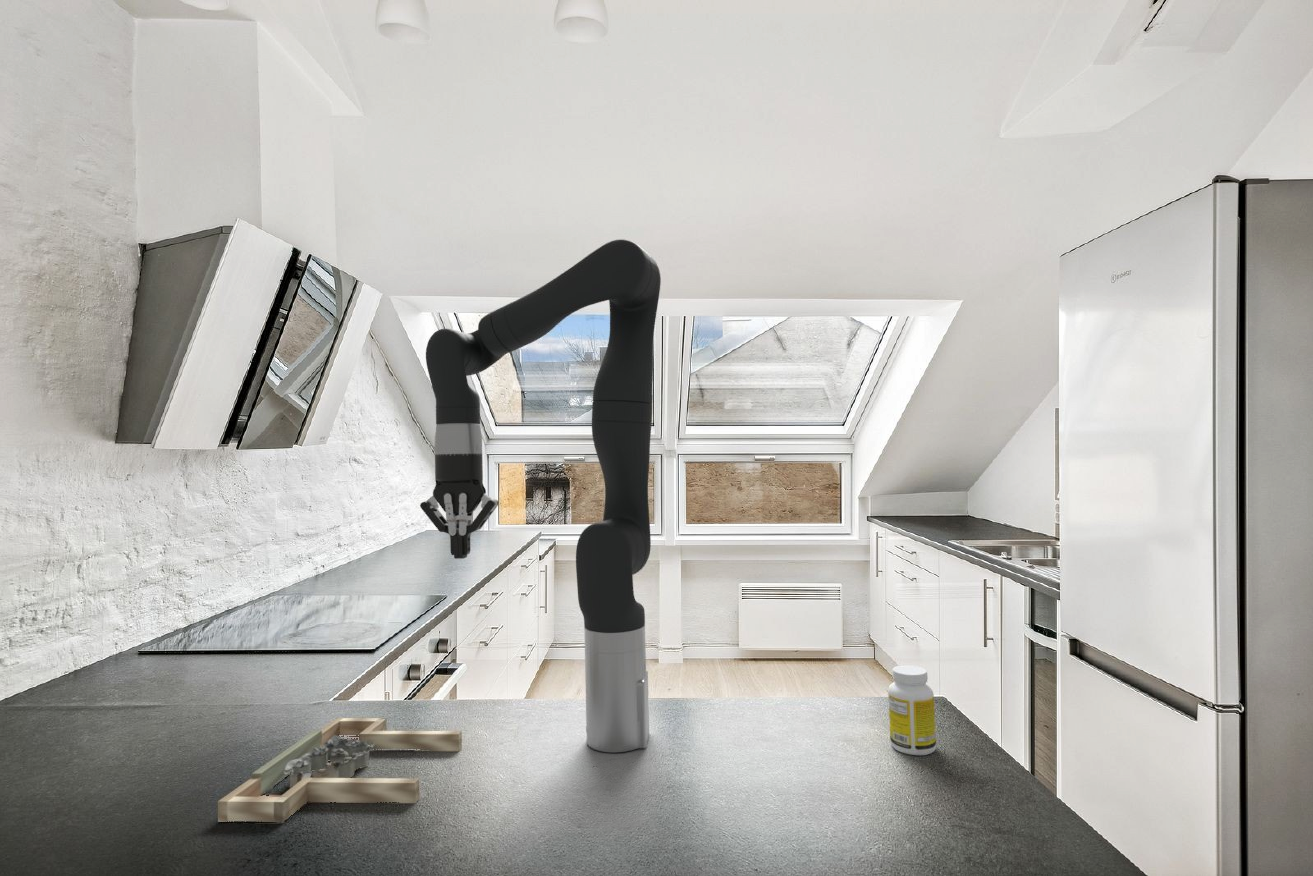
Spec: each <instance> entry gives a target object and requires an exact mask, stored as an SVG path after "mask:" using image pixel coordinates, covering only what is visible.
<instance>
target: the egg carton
mask: <svg viewBox="0 0 1313 876" xmlns="http://www.w3.org/2000/svg"><path fill="white" fill-rule="evenodd" d="M374 745H375V744H374V743H371V745H367V744H366V743H365V742H364V740H361V741H357V740H356V739H350V738H347V739H343V738H341V737H339V736H337V735H334V736H332V737H331V738H330V739H329V740H328V741H327V742H326V743H325V744H323V745H320V746H319V747H318V749H317V748H315V747H314V748H313V749H312V750H311V751H310V752H308V753H307V754H304V755H303V756H302V757H301V758H298V759H295V760H291V761H289V762H288V763H287V765H286V767H285V770H284V774H287V773H289V772H290V775H289V784H291V787H290V789H291V788H292V787H293V786H294V785H296V784H297V783H298V782H299V781H301V780H302V779H303V778H351V777H352V776H353V775H354V776H355V771H356V770H355V769H357V768H360V767H366V766H367V765H369V764H370V760H369V759H370V752H374V751H373V746H374ZM328 760H330V762H327V761H328ZM369 766H370V765H369ZM366 768H367V767H366ZM320 769H322V770H320ZM360 769H361V768H360ZM312 770H314V771H312ZM357 770H358V769H357ZM311 771H312V773H311ZM354 776H353V777H354ZM353 777H352V778H353Z"/></svg>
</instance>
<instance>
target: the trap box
mask: <svg viewBox="0 0 1313 876" xmlns="http://www.w3.org/2000/svg"><path fill="white" fill-rule="evenodd" d="M334 735H337V736H339V735H343V736H341V737H344V735H356V736H349V737H359V740H358V738H356V740H357V741H361V740H364V742H365V743H366V744H367V745H371V743H374V744H375V745H374V746H373V749H374V750H376V749H377V750H378V749H381V750H382V749H394V748H395V749H416V750H417V749H420V750H429V751H428V752H460V751H461V750H462V748H463V739H462V737H463V736H462V735H463V734H462V730H387V717H385V718H384V717H380V718H379V717H374V718H373V717H368V718H367V717H366V718H365V717H364V718H363V717H362V718H361V717H356V718H355V717H352V718H351V717H348V718H347V717H346V718H345V717H340V718H339V717H336V718H335V719H332V720H331V721H330V722H329V723H327V724H326V725H324V726H323V727H322V728H320V729H318V730H315V729H314V730H312V731H311V732H310V733H308V734H307V735H305V736H304V737H302V738H300V740H298V741H297V742H296V743H294V744H292V745H290V747H288V748H287V749H285V750H283V752H281V753H279V754H278V755H276V756H275V757H274V758H272V759H271V760H269V761H268V762H267V763H265V764H263V765H262V766H260V767H259V768H258V769H256V770H254V771H253V772H252V773H251V777H250V778H249V779H248V780H246V781H244V782H243V783H242V784H241V785H238V787H236V788H235V789H234V790H232V791H231V792H229V793H228V794H227V795H225V796H224V797H222V798H220V799H219V800H218V801H217V823H218V822H227V821H228V822H229V821H230V822H231V821H233V822H234V821H245V822H246V821H257V822H258V821H259V822H261V821H262V822H278V823H277V824H284V823H285V822H284V821H285V820H286V819H288V818H289V817H290V816H291V815H293V814H294V813H295V812H296V811H297V810H298V811H299V810H301V809H302V808H303V807H304V806H305V805H306V804H308V803H330V802H332V804H333V803H334V802H336V804H337V803H338V804H339V803H342V804H343V803H345V804H348V803H349V804H350V803H351V804H353V803H354V804H355V803H356V804H357V803H359V804H393V803H392V802H397V803H396V804H416V803H418V801H419V800H420V778H403V777H402V778H396V777H394V778H392V777H391V778H389V777H388V778H387V777H386V778H385V777H383V778H382V777H376V778H374V777H373V778H372V777H370V778H369V777H364V778H363V777H352V778H303V779H302V780H301V781H299V782H298V783H297V784H296V785H294V786H293V787H292V788H291V787H290V788H289V789H288V790H286V791H285V792H284V793H283V794H268V795H269V796H266V795H267V794H265V795H263V796H260V795H261V794H262V793H263V792H265V791H266V790H268V789H269V788H270V787H272V786H273V785H274V784H275V783H277V782H278V781H280V780H281V779H282V778H284V777H285V776H287V775H288V774H289V773H290V772H289V773H287V774H284V770H285V767H286V765H287V763H288V762H289V761H291V760H295V759H298V758H301V757H302V756H303V755H304V754H307V753H308V752H310V751H311V750H312V749H313V748H314V747H315V748H317V749H318V747H319V746H320V745H323V744H325V743H326V742H327V741H328V740H329V739H330V738H331V737H332V736H334ZM358 735H359V736H358ZM339 737H340V736H339ZM347 737H348V736H347ZM343 739H344V738H343ZM351 739H352V738H351ZM354 739H355V738H354ZM308 801H310V802H308ZM307 802H308V803H307ZM377 802H378V803H377ZM380 802H382V803H380ZM383 802H384V803H383ZM385 802H387V803H385ZM389 802H391V803H389ZM398 802H399V803H398ZM304 804H305V805H304ZM303 805H304V806H303ZM302 806H303V807H302ZM301 807H302V808H301ZM300 808H301V809H300ZM298 811H297V812H298ZM297 812H296V813H297ZM296 813H295V814H296ZM295 814H294V815H295ZM294 815H293V816H294ZM291 817H292V816H291ZM291 817H290V818H291ZM290 818H289V819H290ZM289 819H288V820H289ZM279 822H281V823H279Z"/></svg>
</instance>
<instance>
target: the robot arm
mask: <svg viewBox="0 0 1313 876" xmlns="http://www.w3.org/2000/svg"><path fill="white" fill-rule="evenodd" d="M661 277H662V276H661V272H660V268H659V266H658V263H657V262H656V260H655V259H654V258H653V257H652V255H650V254H649V252H647V251H646V250H645V249H643V248H642V247H641V246H640V245H638V243H636V242H634V241H632V240H629V239H625V238H617V239H613V240H610V241H608V242H606V243H604V244H602V245H601V246H599V247H598V248H596V249H595V250H593V251H591V253H589V254H588V255H586V256H585V257H583V258H582V259H581V260H580V261H578V262H577V263H575V264H574V265H573V266H570V268H568V269H567V270H565V271H564V272H562V273H560V274H559V275H558V276H556V277H554V278H553V279H552V280H550V281H548V282H547V283H545V284H543V285H542V286H541V287H539V288H537V289H534V290H533V291H532V292H530V293H528V294H526V295H524V296H522V297H520V298H517V299H516V300H514V301H512V302H509V303H508V304H506V305H503V306H502V307H499V308H497V309H495V310H492V311H491V312H489V313H487V314H486V315H484V316H483V317H482V318H480V320H479V322H478V327H477V329H476V330H475V331H472V332H469V333H465V332H463V331H459V330H457V329H452V328H440V329H438V330H436V331H435V332H434V333H432V335H431V336H430V337H429V339H428V342H427V344H426V349H425V362H426V367H427V372H428V376H429V379H430V380H429V381H430V384H431V389H432V391H433V394H434V395H433V396H434V397H435V432H434V433H435V434H434V446H433V451H434V473H435V474H434V476H435V477H434V478H435V479H434V481H435V486H434V489H433V490H432V496H430V497H429V498H428V499H427V500H425V501H422V502H421V503H420V504H419V506H420V509H421V510H422V511H423V513H424V514H425V515H426V516H427V517H428V519H429V520H430V521H431V523H432V524H433V525H434V526H435V528H436V529H437V530H438V531H439V532H440V533H445V534H448V535H449V538H450V539H449V540H450V543H449V544H450V547H449V548H450V554H451V556H453V558H454V560H455V559H456V560H457V559H458V560H460V559H461V560H462V559H467V557H468V555H470V553H471V535H472V533H474V532H476V531H478V530H479V531H480V530H481V529H482V528H483V526H484V525H485V524H486V522H487V521H488V520H489V518H490V517H491V515H492V514H493V512H494V511H495V510H496V509H497V507H498V506H499V501H498V499H495V498H492V497H491V496H489V495H488V494H487V491H486V490H487V489H486V487H485V486H484V480H483V479H484V478H483V477H484V476H483V475H484V471H483V469H484V468H483V463H484V462H483V435H482V430H481V429H482V428H481V402H480V399H481V398H480V396H479V394H478V392H477V391H476V390H475V389H473V388H471V386H470V385H469V382H468V378H467V377H468V376H473V375H477V374H479V373H481V372H483V371H486V370H487V369H489V368H490V367H492V366H493V365H494V364H496V363H497V362H498V361H499V360H501V359H502V358H504V356H505V355H506V354H510V353H512V352H515V351H517V350H518V349H521V348H523V347H525V346H527V345H529V344H531V343H533V342H535V341H537V340H539V339H541V338H542V337H544V336H545V335H547V334H548V333H550V332H551V331H552V330H553V329H554V328H555V327H557V325H559V324H560V323H561V322H563V320H565V319H566V318H567V317H569V316H570V315H572V314H573V313H575V312H577V311H579V310H581V309H584V308H586V307H588V306H591V305H596V304H599V303H602V302H606V301H608V303H609V336H608V337H609V338H608V343H607V347H606V351H605V353H604V356H603V359H602V362H601V364H600V366H599V369H598V372H597V376H596V379H595V382H594V387H593V391H592V392H593V394H592V405H591V406H592V407H591V408H592V410H591V434H592V436H591V437H592V440H593V446H594V450H595V453H596V456H597V459H598V461H599V462H598V463H599V466H600V468H601V471H602V476H603V480H604V490H605V491H604V511H603V516H602V517H603V518H602V520H600V521H598V522H594V523H592V524H590V525H588V526H587V527H585V528H584V529H583V530H582V532H581V534H580V536H579V537H578V540H577V545H576V552H575V568H576V569H575V571H576V573H575V574H576V586H577V599H578V606H579V609H580V611H581V613H582V616H583V617H582V618H583V624H584V625H583V627H584V633H583V634H584V673H585V675H584V678H585V679H584V680H585V719H586V726H585V730H586V743H587V744H586V745H587V746H589V747H590V748H591V749H593V750H595V751H598V752H602V753H603V752H604V753H625V752H629V751H630V752H631V751H633V750H638V749H646V748H647V745H648V739H649V735H650V710H649V709H650V708H649V707H650V705H649V703H650V702H649V672H648V670H647V662H646V661H647V656H646V655H647V653H646V649H647V647H646V646H647V645H646V615H645V614H646V613H645V612H646V611H645V607H644V605H642V603H640V602H639V601H636V599H635V592H634V591H635V590H634V575H635V574H638V573H639V572H640V571H642V570H643V568H644V567H645V566H646V564H647V562H648V560H649V558H650V554H651V547H652V546H651V544H652V543H651V542H652V539H651V526H650V505H649V473H650V460H651V459H650V457H651V455H650V453H651V434H652V421H653V420H652V416H653V380H654V379H653V378H654V377H653V376H654V373H653V372H654V337H655V336H654V335H655V324H656V318H657V314H658V313H657V312H658V306H659V305H658V304H659V298H660V293H661V281H662V279H661ZM479 505H480V507H481V510H480V512H479V513H477V516H476V517H475V518H474V512H475V511H476V509H477V508H478V506H479ZM439 507H440V508H441V509H442V510H443V512H445V516H444V515H443V514H442V513H441V511H440V510H439ZM445 517H446V518H445ZM473 519H474V520H473Z"/></svg>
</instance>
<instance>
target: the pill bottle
mask: <svg viewBox="0 0 1313 876" xmlns="http://www.w3.org/2000/svg"><path fill="white" fill-rule="evenodd" d="M892 679H893V680H894V681H893V682H892V683H891V684H890V685H889V686H888V691H887V692H888V693H887V696H888V697H887V698H888V714H889V715H888V717H889V738H890V739H889V740H890V745H891V746H892V748H893V749H895V751H898V752H900V753H902V754H906V755H911V756H927V755H929V754H932V753H934V752H935V751H936V749H937V737H936V736H937V735H936V733H937V732H936V717H935V713H936V712H935V697H934V691H933V689H932V687H930V686H929V685H928V684H927V683H928V680H929V679H928V671H927V670H926V668H923V667H921V666H916V665H897V666H894V667H893V668H892Z"/></svg>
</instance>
